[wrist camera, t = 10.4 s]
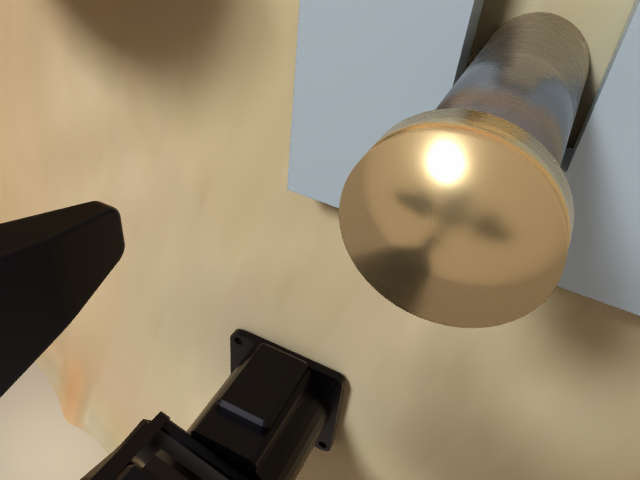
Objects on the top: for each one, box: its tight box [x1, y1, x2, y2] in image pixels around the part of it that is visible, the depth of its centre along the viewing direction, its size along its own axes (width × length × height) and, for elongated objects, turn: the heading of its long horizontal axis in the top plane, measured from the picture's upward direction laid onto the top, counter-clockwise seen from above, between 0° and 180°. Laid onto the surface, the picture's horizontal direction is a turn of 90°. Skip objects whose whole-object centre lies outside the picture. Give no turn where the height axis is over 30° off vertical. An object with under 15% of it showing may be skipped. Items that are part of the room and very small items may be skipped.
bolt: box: [339, 12, 590, 328], centre depth 13 cm, size 4×4×10 cm
